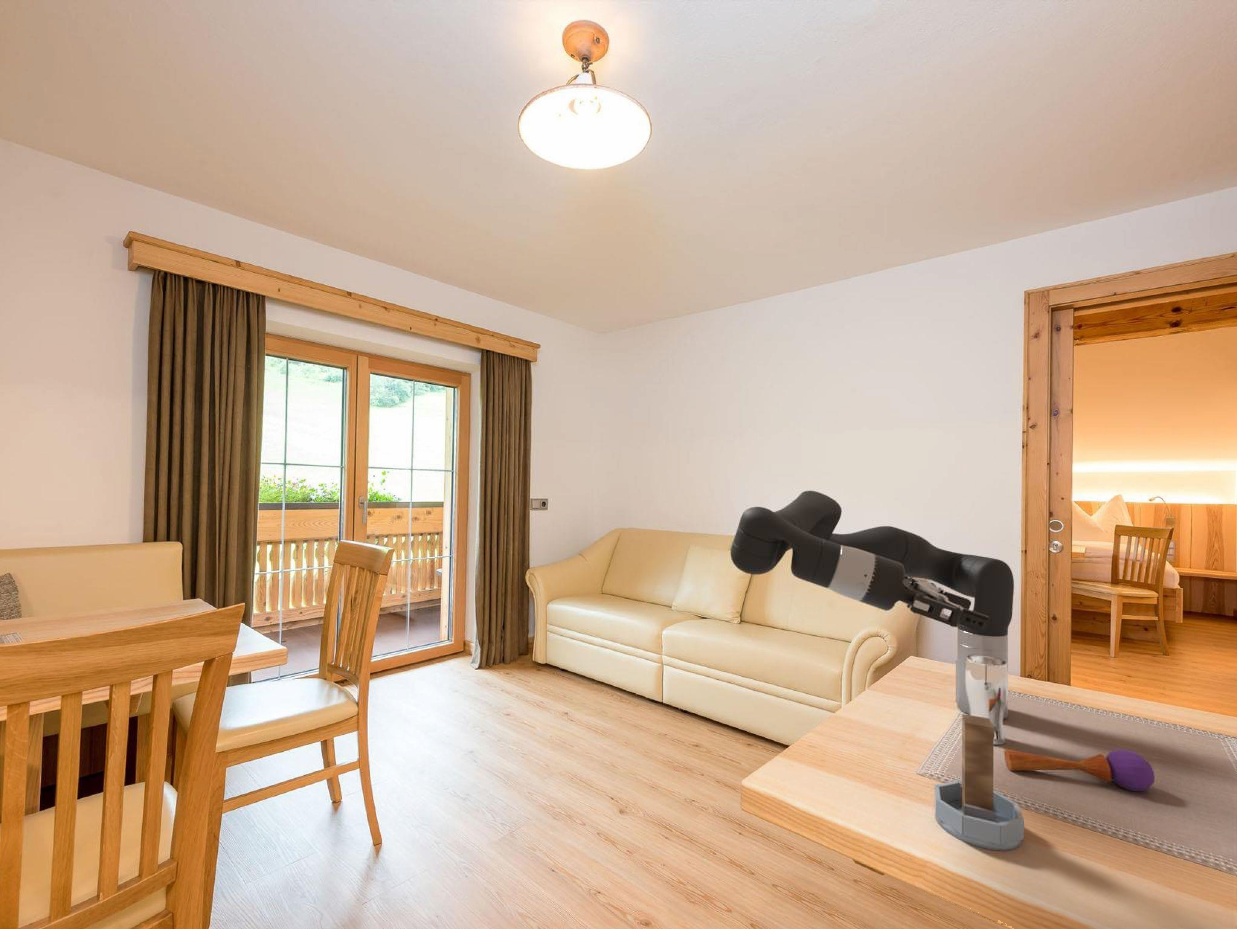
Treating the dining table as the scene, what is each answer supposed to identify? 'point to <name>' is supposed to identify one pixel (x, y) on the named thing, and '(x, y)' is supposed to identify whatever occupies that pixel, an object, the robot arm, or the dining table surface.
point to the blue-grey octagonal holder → (979, 819)
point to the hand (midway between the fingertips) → (978, 615)
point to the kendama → (1092, 767)
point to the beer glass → (987, 690)
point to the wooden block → (977, 762)
